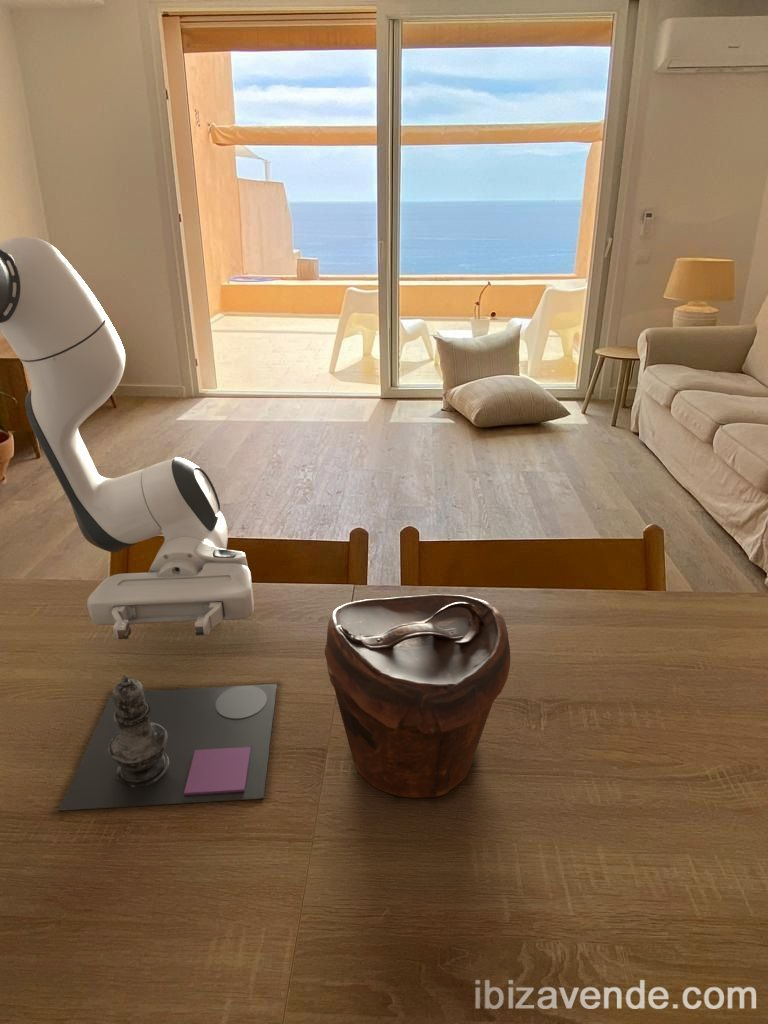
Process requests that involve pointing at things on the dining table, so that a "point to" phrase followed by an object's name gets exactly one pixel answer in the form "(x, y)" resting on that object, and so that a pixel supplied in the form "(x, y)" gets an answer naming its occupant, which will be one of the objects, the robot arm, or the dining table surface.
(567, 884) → the dining table surface
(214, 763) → the pink square tile
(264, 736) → the mat
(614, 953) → the dining table surface
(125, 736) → the chess piece
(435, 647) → the brown pot
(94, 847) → the dining table surface
